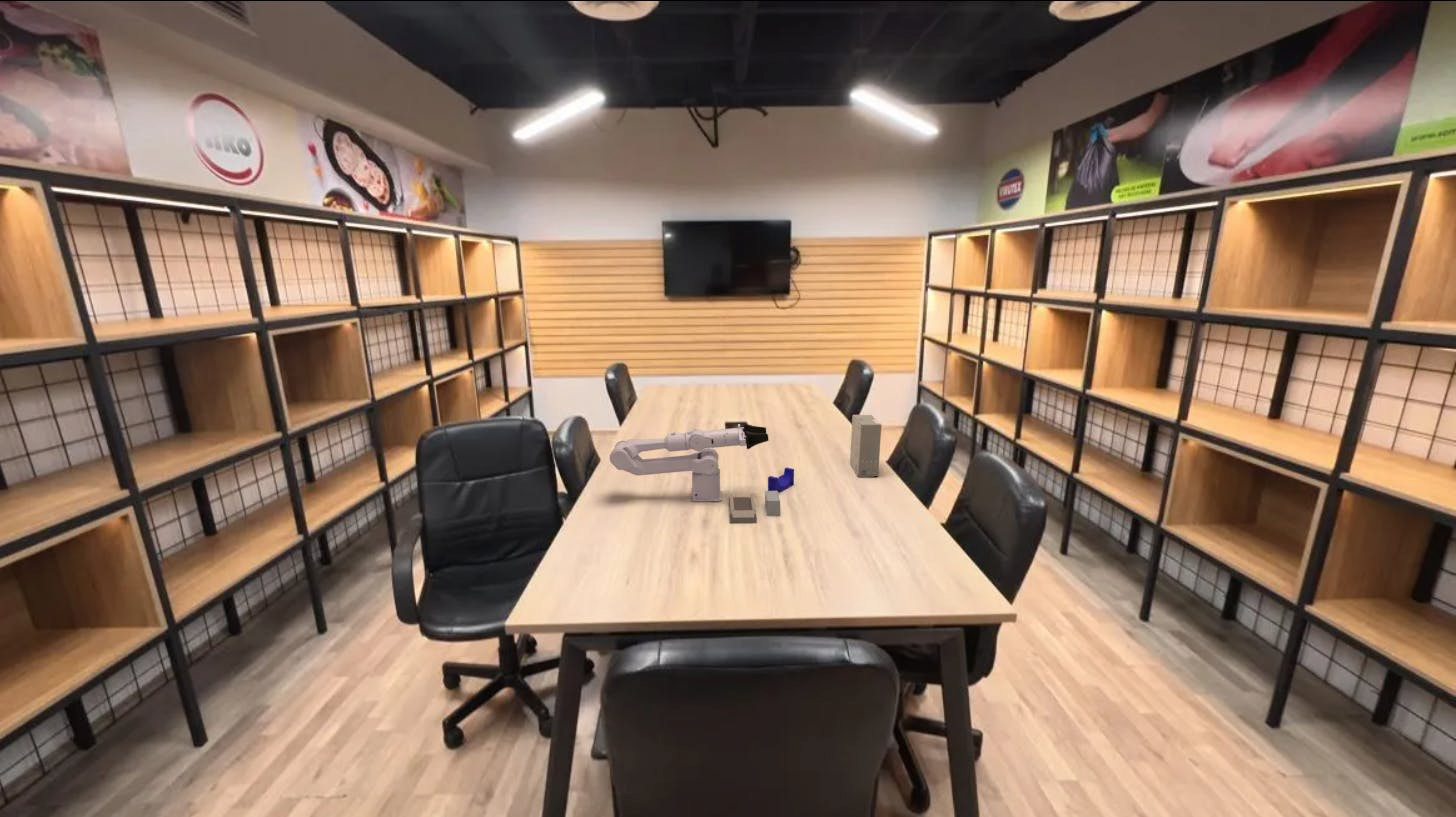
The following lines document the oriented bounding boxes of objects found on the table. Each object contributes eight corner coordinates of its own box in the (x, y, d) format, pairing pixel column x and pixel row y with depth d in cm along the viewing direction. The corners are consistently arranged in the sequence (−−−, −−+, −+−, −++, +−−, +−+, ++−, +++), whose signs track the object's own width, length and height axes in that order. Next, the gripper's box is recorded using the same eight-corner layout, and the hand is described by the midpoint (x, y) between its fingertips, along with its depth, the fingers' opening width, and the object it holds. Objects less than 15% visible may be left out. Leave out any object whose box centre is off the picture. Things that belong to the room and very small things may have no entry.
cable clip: (782, 482, 198) (783, 466, 197) (793, 485, 196) (794, 469, 194) (764, 492, 189) (764, 476, 188) (775, 495, 186) (775, 479, 185)
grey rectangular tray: (730, 523, 166) (730, 512, 165) (729, 501, 181) (729, 491, 181) (756, 522, 166) (756, 511, 165) (753, 501, 182) (753, 491, 181)
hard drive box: (878, 477, 202) (882, 424, 197) (857, 477, 202) (860, 424, 198) (868, 463, 217) (871, 414, 212) (849, 463, 217) (851, 414, 213)
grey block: (767, 516, 171) (767, 500, 170) (765, 505, 179) (765, 490, 178) (780, 515, 171) (780, 500, 170) (777, 505, 179) (777, 490, 178)
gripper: (724, 432, 172) (768, 428, 172) (724, 420, 187) (764, 416, 186) (726, 453, 174) (769, 449, 174) (726, 440, 188) (766, 436, 188)
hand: (767, 433), depth 180 cm, fingers open, 7 cm apart
